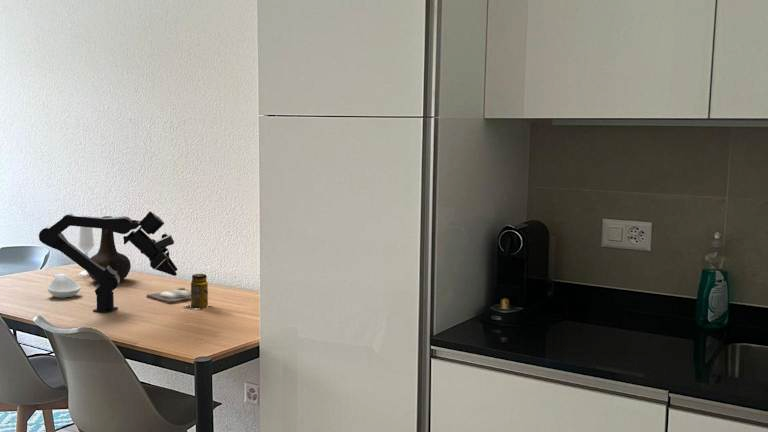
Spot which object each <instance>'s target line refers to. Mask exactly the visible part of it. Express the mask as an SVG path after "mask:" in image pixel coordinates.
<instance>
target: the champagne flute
mask: <svg viewBox="0 0 768 432" xmlns="http://www.w3.org/2000/svg"><path fill="white" fill-rule="evenodd" d="M78 227H79V226H78ZM77 246H78V249H79V250H80V251H81V252H82V253H84V254H85V255H86V256H88V257H89V252H90V251H92V249H93V248H94V246H95V239H94V232H93V228H90V227H79V231H78V243H77ZM80 274H81V275H80ZM79 275H80V276H89V274H88V272H87V271H86V270H85V269H83V271H81V272H80V273H79Z"/></svg>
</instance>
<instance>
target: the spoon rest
mask: <svg viewBox="0 0 768 432" xmlns="http://www.w3.org/2000/svg"><path fill="white" fill-rule="evenodd" d="M81 288H82V287H81V285H80V284H79V283H77V282H76V281H74V279H72V278H70V277H69V276H68V275H67V274H65V273H61V274H58V273H55V274H54V276H53V279H52V280H51V282H50V284H49V285H48V287H47V290H48V292H49V294H50V295H51V296H53V297H55V298H57V297H58V298H59V299H68V298H67V297H69V298H73V297H74V296H76V295H77V294H78V293H79V292H80V291H81Z"/></svg>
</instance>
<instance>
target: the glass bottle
mask: <svg viewBox="0 0 768 432" xmlns="http://www.w3.org/2000/svg"><path fill="white" fill-rule="evenodd" d="M111 217H113V216H109V215H108V216H104V215H103V216H102V218H111ZM100 234H101V235H100V244H99V248H98V251H97V253H96V254H94V255H92V256H91V257H89V258H90V259H92V260H93V261H94V262H96V263H97V264H98V265H100V266H101V267H104V268H107V266H108V265H109V266H110V267H111V268H112V269H113V270H114V271H117V274H118V275H119V278H120V282H121V281H123V280H124V279H126V277H127V276H128V275H129V273H130V271H131V267H132V265H131V264H132V263H131V261H130V259H129V258H128V256H126V255H125V254H123V253H121V252H118V250H117V248H116V245H115V244H116V243H115V236H114V235H115V234H114V232H112V231H109V230H106V229H101V233H100ZM88 274H89V275H88V276H89V277H90V278H91V279H92V280H93V281H94V282H96V283H98V282H97V281H96V280H95V278H94V277H93V276H92V275H91V274H90V273H89V272H88Z"/></svg>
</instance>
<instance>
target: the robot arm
mask: <svg viewBox="0 0 768 432" xmlns="http://www.w3.org/2000/svg"><path fill="white" fill-rule="evenodd" d="M102 217H103V216H102ZM102 217H99V216H90V215H82V214H81V215H79V214H74V213H73V214H72V213H68V214H66V215H65V214H64V216H63V217H62V218H61V219H60V220H58V221H57V222H55V223H54V224H53V225H49V226H45V227H43V228H42V229H41V230H40V231H39V233H38V239H39V242H40V243H41V244H43V245H45V246H47V247H50V248H51V249H54V250H57V251H59V252H60V253H62V254H63V255H65V256H66V257H68V258H69V259H70V260H71V261H72V262H74V263H75V264H77V265H78V266H80V267H81V268H82V269H83V270H86V271H87V272H89V273H90V274H91V275H92V276H93V277H94V278H95V280H96V281H97V282H96V281H95V282H96V283H97V284H98V285H97V287H96V288H95V290H94V294H95V295H96V308H95V309H93V310H92V312H95V313H111V312H114V311H115V310H118V306H115V303H114V302H115V300H114V299H115V298H114V297H115V296H114V295H115V294H114V291H115V289H117V287H118V286H119V284H120V282H121V281H120V278H119V275H118V274H117V271H114V270H113V269H112V268H111V267H110V266H109V265H108V266H107V268H104V267H101V266H100V265H98V264H97V263H96V262H94V261H93V260H92V259H90V258H91V257H89V255H88V256H86V255H85V252H83V251H82V250H81V249H79V248H77V247H76V246H74V245H73V244H72V243H71V242H69V240H68V239H67V238H66V237H65V235H64V234H63V233H62V232H64V231H65V230H67V228H69V227H90V228H92V229H101V230H102V229H106V230H109V231H112V232H113V233H115V234H120V235H123V237H122V239H123V245H126V244H127V243H128V242H130V243H131V244H132V245H133V246H134V247H135V248H136V249H137V250H139V252H140V253H141V254H142V255H143V256H145V257H147V259H148V261H150V262H149V266H150V267H151V268H152V269H153V270H156V271H159V272H162V273H165V274H168V275H171V276H173V277H176V276H177V274H178V273H177V271H178V268H177V266H176V265H175V263H174V262H173V260H172V259H171V258H170V251H169V248H167V247H170V246H173V245H174V244H175V240H174V239H173V237H172V235H171V234H167V233H163V234H161V238H159V239H158V240H156V239H155V238H151V237H150V236H148V235H154V234H156V233H157V232H158V231H159V230H160V229H161V228H162V227H163V226H164V225H165V224H166V223H165V222H164V220H162V218H160V217H159V215H156V214H155V213H154V212H152V211H149V212H147V214H146V215H145V216H144V217H143V218H142V219H141V220H135V219H131V218H130V217H129V216H126V215H125V216H124V215H123V216H112V217H111V218H102ZM137 228H138V229H137ZM135 230H136V231H135ZM129 232H130V233H129ZM128 233H129V234H128ZM126 234H127V235H126Z"/></svg>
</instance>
